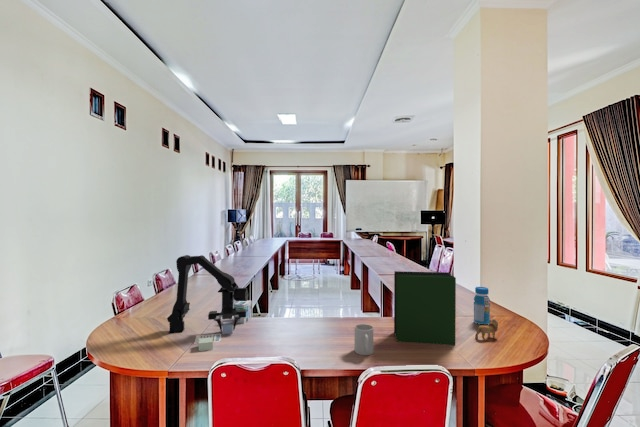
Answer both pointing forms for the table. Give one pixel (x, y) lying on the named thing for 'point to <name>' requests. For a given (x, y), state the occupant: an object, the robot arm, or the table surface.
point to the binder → (424, 307)
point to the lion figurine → (487, 329)
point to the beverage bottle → (481, 306)
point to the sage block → (205, 344)
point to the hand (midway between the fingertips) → (227, 330)
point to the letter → (215, 337)
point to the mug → (363, 339)
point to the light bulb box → (247, 306)
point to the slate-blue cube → (227, 328)
